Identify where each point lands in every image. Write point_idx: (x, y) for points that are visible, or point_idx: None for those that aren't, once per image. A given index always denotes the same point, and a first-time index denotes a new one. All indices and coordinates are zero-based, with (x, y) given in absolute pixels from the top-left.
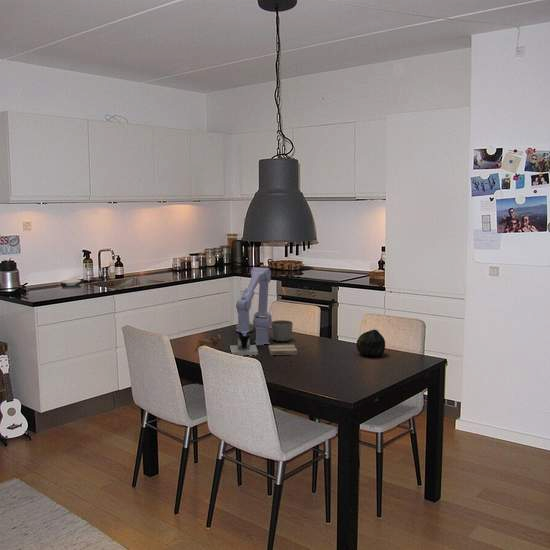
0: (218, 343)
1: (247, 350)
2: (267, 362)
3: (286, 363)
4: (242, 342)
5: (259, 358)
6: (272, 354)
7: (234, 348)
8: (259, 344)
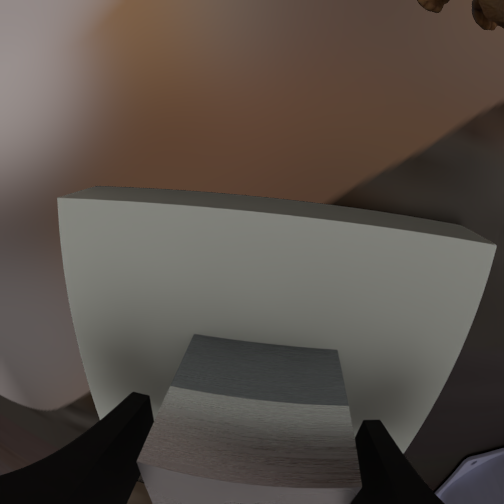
0: (497, 12)
1: None
2: (8, 407)
3: (24, 456)
4: (86, 459)
5: (69, 413)
6: (134, 492)
7: (290, 288)
8: (454, 476)
